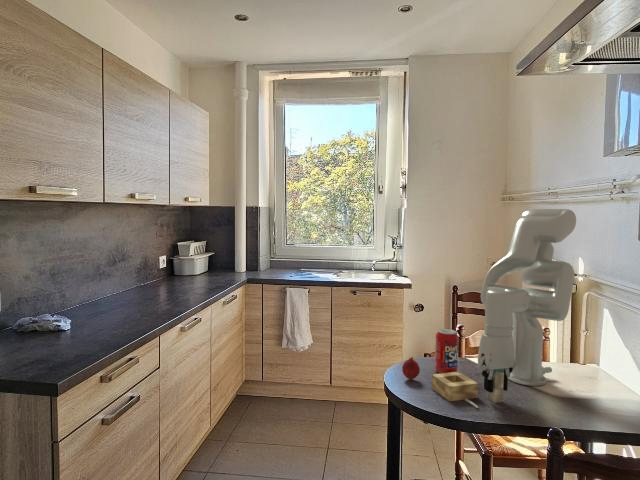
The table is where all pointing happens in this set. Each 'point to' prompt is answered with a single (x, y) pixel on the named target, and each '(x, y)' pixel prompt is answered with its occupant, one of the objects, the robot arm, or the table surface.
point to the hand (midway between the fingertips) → (495, 389)
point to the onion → (410, 368)
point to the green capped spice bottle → (497, 386)
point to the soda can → (446, 351)
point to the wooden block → (454, 386)
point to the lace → (471, 403)
